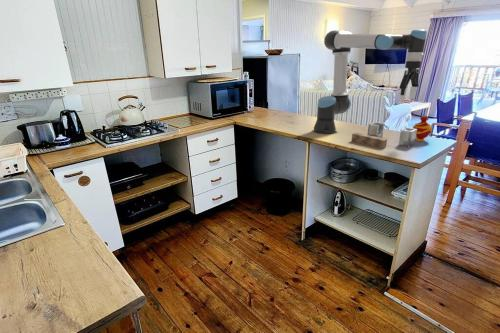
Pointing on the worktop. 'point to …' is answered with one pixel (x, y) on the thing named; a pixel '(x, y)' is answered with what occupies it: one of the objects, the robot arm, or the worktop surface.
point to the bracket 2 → (408, 137)
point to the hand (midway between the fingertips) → (406, 99)
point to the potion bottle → (422, 129)
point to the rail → (369, 140)
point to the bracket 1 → (376, 129)
